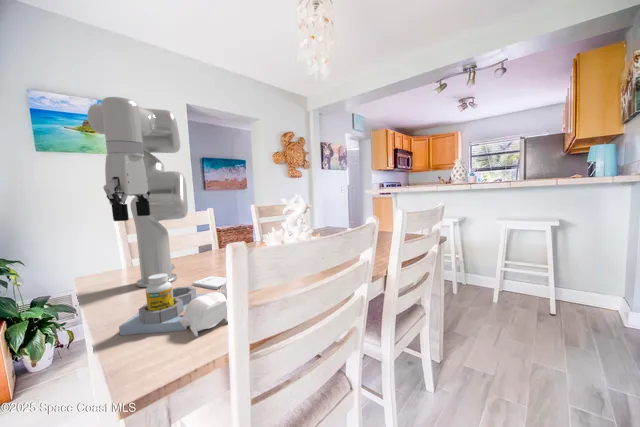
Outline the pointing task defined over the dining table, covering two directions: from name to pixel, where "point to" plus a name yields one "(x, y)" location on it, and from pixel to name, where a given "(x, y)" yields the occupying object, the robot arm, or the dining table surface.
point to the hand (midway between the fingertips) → (133, 218)
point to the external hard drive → (211, 282)
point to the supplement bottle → (159, 293)
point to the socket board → (152, 327)
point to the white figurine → (206, 311)
